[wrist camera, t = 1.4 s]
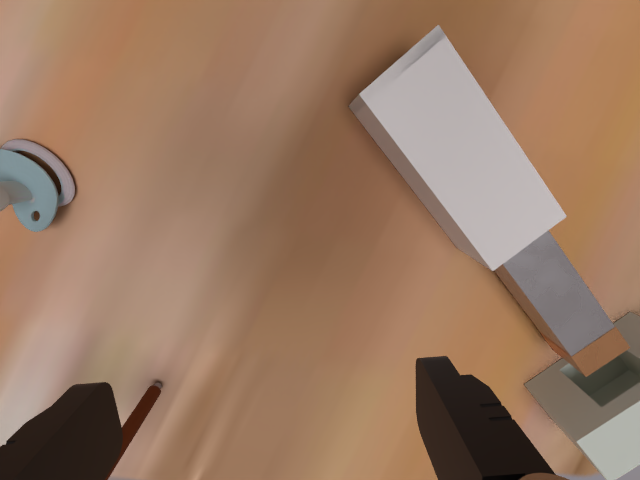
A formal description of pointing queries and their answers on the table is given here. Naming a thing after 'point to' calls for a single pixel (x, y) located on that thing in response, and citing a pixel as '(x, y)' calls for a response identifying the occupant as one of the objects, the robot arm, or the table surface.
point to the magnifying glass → (137, 418)
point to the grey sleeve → (457, 152)
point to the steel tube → (561, 305)
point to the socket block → (598, 405)
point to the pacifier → (32, 184)
